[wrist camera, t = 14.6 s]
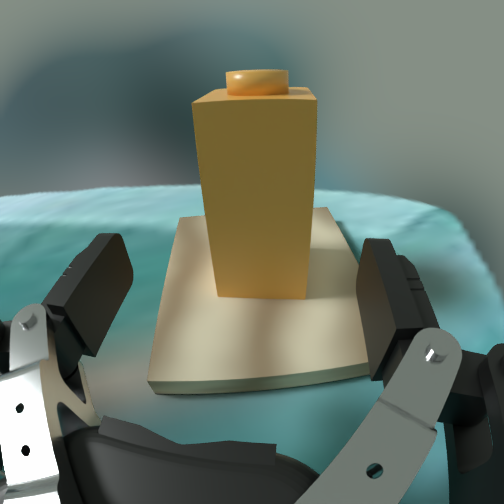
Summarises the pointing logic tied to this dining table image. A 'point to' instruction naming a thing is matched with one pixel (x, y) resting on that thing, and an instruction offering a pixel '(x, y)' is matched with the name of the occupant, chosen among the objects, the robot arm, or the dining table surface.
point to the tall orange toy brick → (258, 183)
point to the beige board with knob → (256, 322)
